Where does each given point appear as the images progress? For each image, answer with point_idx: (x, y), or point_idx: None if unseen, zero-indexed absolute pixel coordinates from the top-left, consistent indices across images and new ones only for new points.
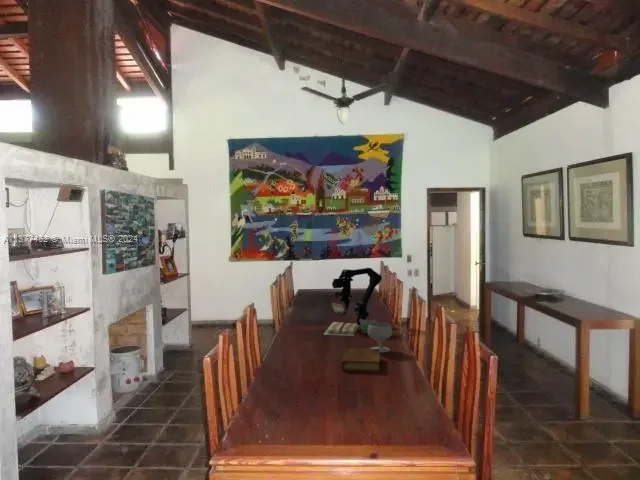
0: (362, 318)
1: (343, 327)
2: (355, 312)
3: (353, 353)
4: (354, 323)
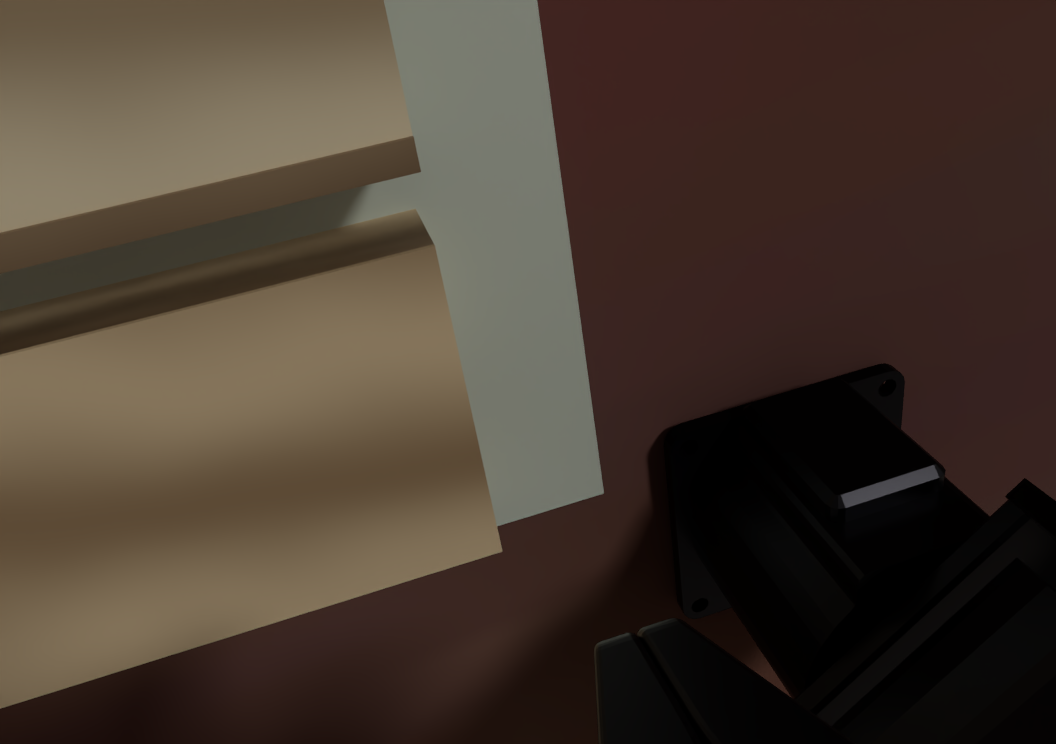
0: (774, 662)
1: None
2: (1021, 563)
3: None
4: (466, 498)
